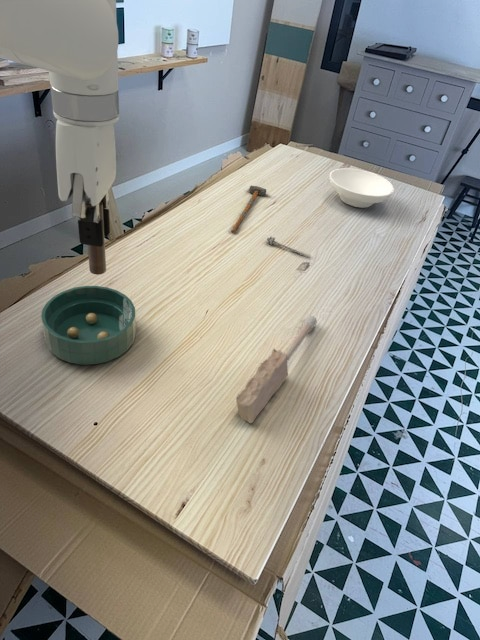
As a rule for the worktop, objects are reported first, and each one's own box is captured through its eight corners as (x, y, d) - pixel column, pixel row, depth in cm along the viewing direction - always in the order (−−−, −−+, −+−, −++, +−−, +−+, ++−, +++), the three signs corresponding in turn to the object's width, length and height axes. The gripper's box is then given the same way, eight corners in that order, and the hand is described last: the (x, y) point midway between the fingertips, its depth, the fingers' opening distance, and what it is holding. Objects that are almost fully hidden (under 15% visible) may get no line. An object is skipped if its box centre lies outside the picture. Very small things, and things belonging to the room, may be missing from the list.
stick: (94, 276, 69) (89, 208, 62) (86, 268, 70) (80, 201, 63) (109, 271, 70) (105, 205, 63) (101, 264, 71) (97, 197, 64)
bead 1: (70, 342, 80) (69, 333, 79) (65, 335, 81) (64, 327, 80) (81, 338, 81) (80, 329, 80) (76, 331, 82) (75, 323, 81)
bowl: (325, 183, 151) (331, 163, 147) (385, 196, 150) (392, 176, 146) (321, 208, 136) (328, 186, 132) (388, 223, 135) (396, 201, 131)
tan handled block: (299, 307, 94) (237, 383, 69) (320, 313, 92) (264, 393, 68) (293, 339, 97) (232, 422, 73) (313, 345, 96) (257, 432, 71)
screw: (266, 243, 117) (269, 236, 117) (306, 261, 115) (309, 253, 115) (265, 241, 115) (268, 234, 115) (305, 259, 113) (309, 252, 113)
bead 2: (89, 327, 84) (88, 319, 82) (84, 321, 85) (83, 312, 83) (99, 323, 85) (99, 315, 83) (94, 317, 86) (93, 309, 84)
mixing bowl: (71, 380, 74) (67, 355, 71) (30, 327, 82) (25, 302, 79) (151, 344, 83) (152, 321, 80) (108, 299, 91) (107, 276, 88)
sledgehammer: (223, 232, 119) (241, 237, 118) (223, 225, 117) (242, 230, 117) (250, 190, 139) (266, 194, 139) (250, 184, 138) (267, 188, 137)
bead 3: (101, 346, 80) (100, 338, 79) (95, 340, 81) (94, 331, 80) (111, 342, 81) (111, 333, 80) (106, 335, 82) (105, 327, 81)
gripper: (77, 81, 61) (87, 209, 73) (25, 118, 49) (47, 265, 60) (134, 91, 61) (135, 217, 73) (97, 130, 49) (105, 274, 61)
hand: (95, 237), depth 67 cm, fingers closed on stick, 2 cm apart
